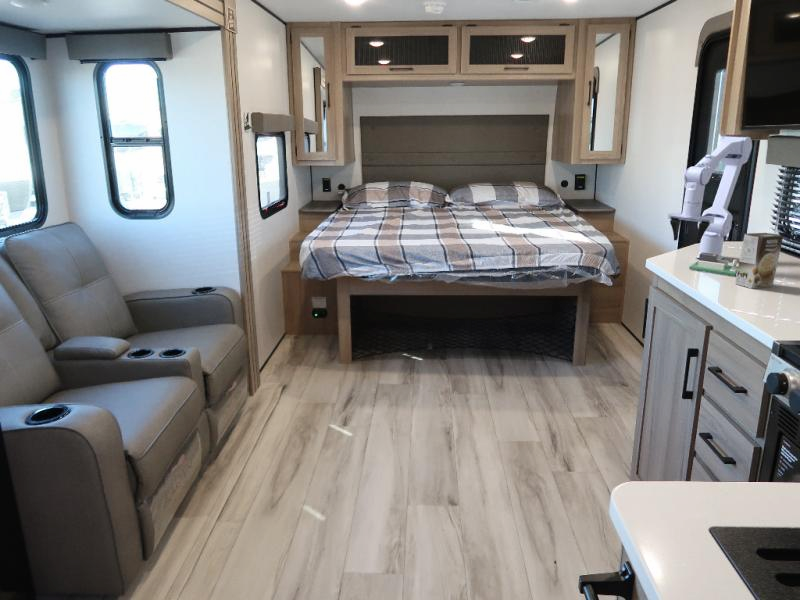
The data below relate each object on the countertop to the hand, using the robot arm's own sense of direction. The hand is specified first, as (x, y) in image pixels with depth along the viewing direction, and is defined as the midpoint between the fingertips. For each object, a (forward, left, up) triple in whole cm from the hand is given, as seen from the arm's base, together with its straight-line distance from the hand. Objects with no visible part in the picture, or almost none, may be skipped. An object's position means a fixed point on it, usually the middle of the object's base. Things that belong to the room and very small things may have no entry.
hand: (686, 241), depth 214 cm
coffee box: (+14, +24, -9) cm, 29 cm away
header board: (0, +10, -8) cm, 13 cm away
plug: (0, +8, -7) cm, 11 cm away
